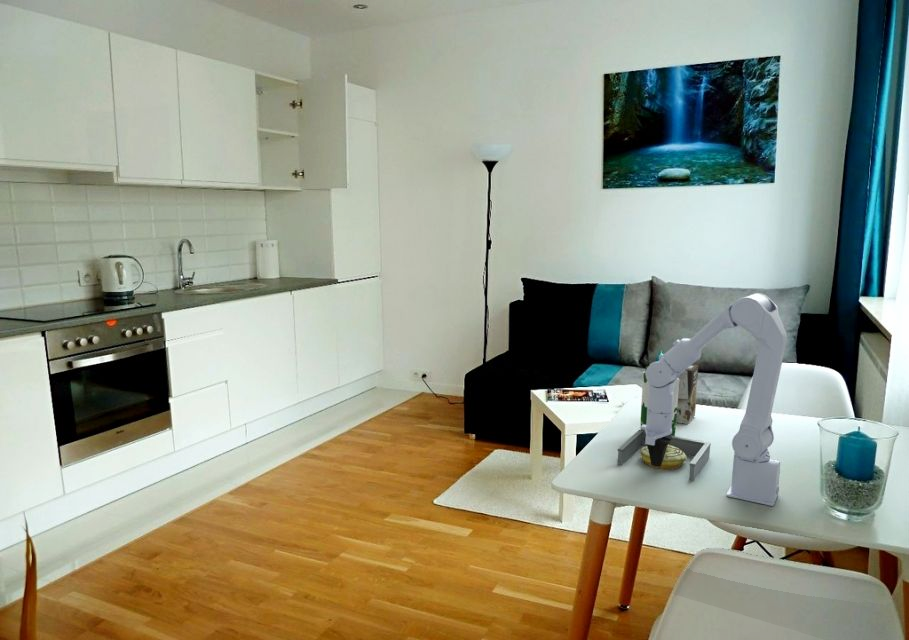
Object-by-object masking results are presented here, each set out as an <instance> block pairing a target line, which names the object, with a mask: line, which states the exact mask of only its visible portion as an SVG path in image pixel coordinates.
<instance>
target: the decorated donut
mask: <svg viewBox="0 0 909 640" xmlns="http://www.w3.org/2000/svg"><path fill="white" fill-rule="evenodd" d="M640 457H641V460H642V461H643V462H644V464H646V465H648V466H650V467H652V468H657V469H661V470H674V469H678V468H680V467H681V466H682V465H684V463H685V462H686V461H687V459H688V458H687V455H685V453H684V452H683V451H682V450H680V449H679V448H677V447H674V446H672V445H668V446H667V449H666V452H665V455H664V459H663V462H662V465H661V466H660V467H658V466H653V465H651V461H650V455H649V450H648V447H647V446H645V447H641V449H640Z"/></svg>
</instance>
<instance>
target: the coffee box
mask: <svg viewBox="0 0 909 640" xmlns="http://www.w3.org/2000/svg"><path fill="white" fill-rule="evenodd" d="M698 375H699V365H698V364H694V363H693V364H692V365H691V366H690V367H688V368H687V369H686V370H685V371H683V372H682V373H681V374H679V376H678V378H679V379H680V380H679V390H678V405H677V420H676V423H677V422H679V423H678V424H682V423H686V424H685V425H689V424H690V423H691V422H690V421H692V420H694V419H695V417H696V409H697V408H696V406H697V405H696V404H697V392H698V391H697V390H698V379H699V378H698ZM694 416H695V417H694ZM689 422H690V423H689Z"/></svg>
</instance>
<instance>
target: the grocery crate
mask: <svg viewBox="0 0 909 640" xmlns="http://www.w3.org/2000/svg"><path fill="white" fill-rule="evenodd" d="M645 436H646V431H643V430H641V429H638V430H637V431H636V432H635V433H634V434H633V435H632V436H630V437H629V438H628V439H627V440H626V441H625V442H623V443H622V445H620V446H619V447H618V448H617V466H620V467H621V466H623V465H624V464H625V463H626V462H628V460H629V459H630V458H631V457H632V456H633V455H634V454H635V453H636V452H637V451H638V450H639V449H640V448H643V447H645V446H647V445H646V444H645V441H644V437H645ZM670 436H671V435H670ZM668 445H672V446H674V447H677V448H679V449H680V450H682V451H683V452H684V453H685V455H686V457H687V456H689V457H692V459H691V461H690V462H689V475H688V476H689V477H688V480H689V481H691V482H694V481H695V480H696V478H697V476H698V475H699V474H700V472H701V471H702V469H703V468H704V466H705V465H706V464H707V462H708V461H709V459H710V456H711V455H710V454H711V453H710V452H711V445H712V442H708V441H703V440H697V439H693V438H688V437H681V436H676V435H675V436H672V439H671V441H670V442H669V444H668Z"/></svg>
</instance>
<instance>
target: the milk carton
mask: <svg viewBox="0 0 909 640" xmlns="http://www.w3.org/2000/svg"><path fill="white" fill-rule="evenodd" d="M647 368H648V365H647V366H645V371H642V383H641V384H642V389H641V390H642V391H641V406H640V407H641V410H640V427H641V426H642V425H646V422H647V405H648V390H649V382H648V381H647V379H646V369H647ZM679 380H680V379H679V378H677V379H676V380H675V381H674V395H673V411H672V427H671V428H672V434H670V435H671V436H676V429H677V422H676V420H677V405H678V390H679ZM640 430H643V429H641V428H640ZM643 431H645V430H643Z"/></svg>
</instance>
